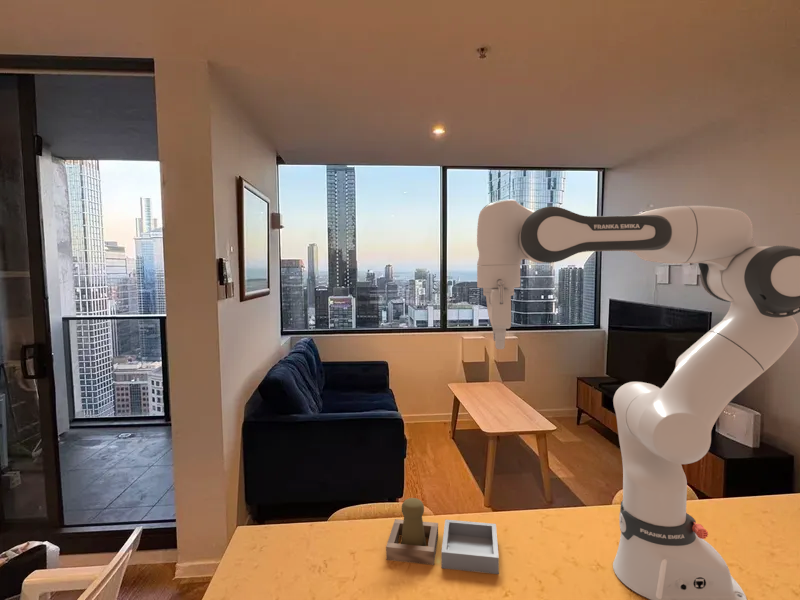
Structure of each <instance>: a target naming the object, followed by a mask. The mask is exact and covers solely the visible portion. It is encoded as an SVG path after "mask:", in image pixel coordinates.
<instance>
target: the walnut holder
mask: <svg viewBox="0 0 800 600" xmlns="http://www.w3.org/2000/svg"><path fill="white" fill-rule="evenodd" d="M403 521H404V519H398V518H397V519H396V518H394V522H393V524H392V527H391V531H390V533H389V537H388V540H387V543H386V545H385V556H386V557H385V559H386V560H387V561H393V562H394V561H395V562H402V563H403V562H404V563H412V564H422V565H430V566H431V565H432V566H434V565H435V560H436V553H437V545H438V539H439V522H434V521H433V522H432V521H423V527H424V534H425V539H426V538H427V539H428V543H427V545H426V546H416V545H406V544H401V543H399V540H400V537H401V536H402V530H403Z"/></svg>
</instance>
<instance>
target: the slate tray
mask: <svg viewBox="0 0 800 600" xmlns="http://www.w3.org/2000/svg"><path fill="white" fill-rule="evenodd" d="M498 544H499V543H498V535H497V524H496V523H489V522H478V521H468V520H456V519H445V521H444V527H443V536H442V543H441V552H440V553H441V554H440V555H441V556H440V557H441V558H440V559H441V563H440V564H441V569H444V570H445V569H447V570H456V571H457V570H458V571H466V572H476V573H482V574H483V573H484V574H493V575H499V574H500V573H499V572H500V571H499V570H500V566H499V565H500V561H499V560H500V558H499V545H498Z"/></svg>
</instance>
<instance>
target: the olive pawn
mask: <svg viewBox="0 0 800 600" xmlns="http://www.w3.org/2000/svg"><path fill="white" fill-rule="evenodd" d="M424 512H425V505H424V503H423V502H422V500H421V499H419V498H416V497H408V498H407V499H405V500H404V501H403V502H402V504H401V513H402V515H403V520H404V521H403V530H402V535H401V539H400V544H406V545H416V546H427V542H426V538H425V534H424V527H423V522H424V520H423V515H424Z"/></svg>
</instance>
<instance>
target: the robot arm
mask: <svg viewBox="0 0 800 600" xmlns="http://www.w3.org/2000/svg"><path fill="white" fill-rule="evenodd" d="M753 226H754V225H753V223H752V220H751V219H750V217H749V216H748V214H747V213H745V212H744V211H742V210H740V209H738V208H737V209H736V208H730V207H722V206H712V205H711V206H710V205H678V206H677V205H675V206H668V207H661V208H655V209H651V210H646V211H643V212H641V213H638V214H632V215H596V216H595V215H594V216H593V215H592V216H591V215H590V216H589V215H582V214H578V213H575V212H574V211H573V212H572V211H570V210H568V209H566V208H562V207H558V206H546V207H545V206H544V207H541V208H539V209H537V210H535V211H534V210H532V209H530V208H527V207H525V206H524V205H522V204H520V203H519V202H518V201H517V200H515V199H510V198H509V199H502V200H501V199H500V200H497V201H494V202H491V203H488V204H487V205H485V206H483V208H482V209H481V210H480V212H479V214H478V219H477V229H476V231H477V232H476V246H477V249H478V260H477V265H476V276H477V277H476V279H477V280H476V281H477V282H476V285H477V288H478V289H483V293H482V294H483V296H484V297H485V301H486V310H487V314H488V315H487V316H488V319H489V322H490V325H491V328H492V334H493V335H492V336H493V337H492V339H493V341H494V342H495V343H494V344H495V345H494V346H495V348H496V350H504V349H505V348H506V335H507V330H509V329H510V328H512V327H511V326H512V296H515V288H521V261H522V260H527V261H530V262H534V263H537V264H538V263H539V264H541V263H545V264H551V263H552V264H553V263H557V262H561V261H564V260H565V259H568V258H570V257H572V256H574V255H576V254H579V253H586V252H630V253H633V254H635V255H636V256H637V257H638V258H640V259H641V260H643V261H645V262H653V263H660V264H661V263H662V264H698V268H699V271H700V272H699V277H700V282H701V284H702V287H703V289H704V290H705V292H706V293H708V294H709V295H710V296H712V297H713V298H715V299H717V300H719V301H724V302H727V303H730V305H729V308H728V311H727V313H726V314H725V316H724V317H723V318H722V320H721V321H719V323H717V324H715V325H714V326H713V327H711V329H710V330H709V331H707V332H706V333H705V334H703V336H701V337H700V338H699V339H697V341H696V342H694V343H693V344H692V345H690V347H689V348H687V349H686V350H685V351H684V352H682V353H681V354H680V355H679V356H678V358H677V359H676V361H675V367H674V370H673V372H672V373H671V375H670V376H669V378H668V380H667V381H666V382H665V383H664V385H662V387H659V386H656V385H655V384H652V383H649V382H648V383H647V382H643V381H629V382H626V383H624V384H623V385H621V386H619V387H618V389H617V390H616V391H615V393H614V395H613V399H612V402H613V408H614V412H615V417H616V425H617V433H618V442H619V446H620V447H619V448H620V449H619V450H620V452H621V461H622V474H623V475H622V476H623V477H622V501H620V506H619V508H620V511H619V519H618V520H619V529H620V538H619V544H618V548H617V551H616V555H615V557H614V560H613V562H612V568H613V572H614V573H615V575H616V577H617V578H618V580H619V581H620V582H622V584H624V585H625V586H626V587H627V588H629V589H631V590H632V592H635V593H636V594H638V595H640V596H642V597H644V598H646V599H648V600H748V598H747V596H746V593H745V591H744V590H743V589H742V587H741V586H740V584H739V583H738V582H737V581H736V578H735V579H734V577H733V576H732V575H731V572H730V569H729V566H728V565H727V562H726V561H725V559H724V558H723V556H722V555H721V554H720V552H718V551H717V550H716V548H715V547H714V546H712V544H710V543H709V542H708V541H707V540H705V539H707V537H709V533H708V531H707V529H705V528H704V525H702V524H700V523H697V522H696V519H695V518H694V517H693V515H690V514H689V513H688V512H687V498H688V497H687V494H688V493H687V492H688V482H687V476H686V474H685V472H684V469H683V466H682V465H688V464H693V463H696V462H698V461H700V460H701V459H703V458H704V457H705V456H706V455H707V454H708V452H709V450H710V449H711V448H710V447H711V444H712V430H713V427H714V425H715V424H716V422H717V421H718V420H719V419H718V418H719V417H720V416H721V413H723V410H724V409H725V408H726V406H728V404H729V403H730V402H731V401H732V400H733V399H734V398H735V397H736V396H737V395H738V394H740V393H741V392H742V391H744V389H746V388H747V387H748V386H749V385H751V384H752V383H753V382H754V381H755V380H756V379H757V378H758V377H760V376H761V375H762V374H763V373H765V372H766V371H767V370H768V369H769V368H771V366H773V364H775V363H776V362H777V361H778V360H779V359H780V358H781V357H782V356H783V355H784V354H785V352H787V350H788V349H789V348H790V346H792V344H793V342H794V341H795V340H796V339H797V337H798V335H799V326H798V323H797V321H796V319H795V318H794V317H793V316H794V315H797V314H798V313H800V248H798V247H794V246H788V245H773V246H770V245H767V246H766V245H764V246H763V245H762V246H758V244H757V243H756V242H755V240H754V238H753V235H754V227H753ZM795 310H796V311H795Z"/></svg>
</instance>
